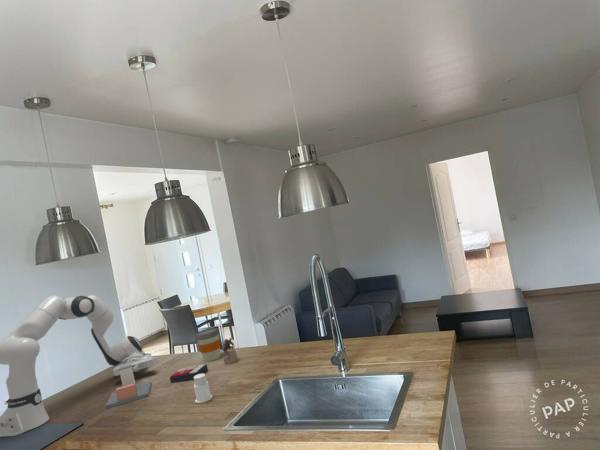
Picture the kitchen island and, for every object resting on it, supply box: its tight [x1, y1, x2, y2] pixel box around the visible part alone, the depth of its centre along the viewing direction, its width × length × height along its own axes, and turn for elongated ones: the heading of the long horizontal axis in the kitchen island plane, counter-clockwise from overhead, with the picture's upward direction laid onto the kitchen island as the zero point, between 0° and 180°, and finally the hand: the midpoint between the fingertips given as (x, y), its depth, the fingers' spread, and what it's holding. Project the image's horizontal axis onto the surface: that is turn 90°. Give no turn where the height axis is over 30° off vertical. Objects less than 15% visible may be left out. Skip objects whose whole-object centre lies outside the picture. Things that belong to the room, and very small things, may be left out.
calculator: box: [169, 363, 209, 384], centre depth 216 cm, size 11×4×15 cm
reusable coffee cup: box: [195, 327, 222, 362], centre depth 240 cm, size 13×12×15 cm
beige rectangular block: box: [119, 364, 137, 387], centre depth 209 cm, size 5×4×12 cm
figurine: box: [221, 337, 239, 366], centre depth 226 cm, size 7×7×12 cm
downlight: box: [193, 373, 213, 404], centre depth 181 cm, size 8×7×10 cm
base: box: [105, 380, 153, 410], centre depth 206 cm, size 18×18×6 cm
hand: (132, 370), depth 225 cm, fingers closed
